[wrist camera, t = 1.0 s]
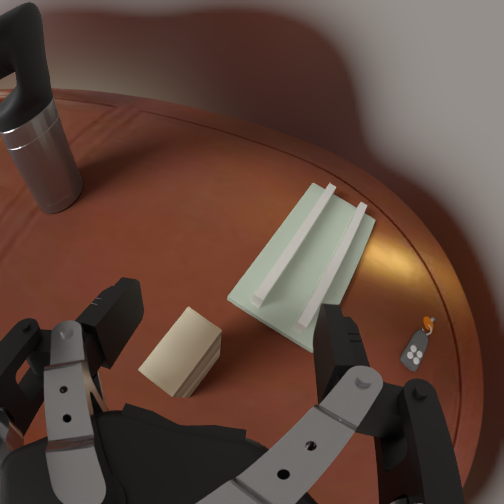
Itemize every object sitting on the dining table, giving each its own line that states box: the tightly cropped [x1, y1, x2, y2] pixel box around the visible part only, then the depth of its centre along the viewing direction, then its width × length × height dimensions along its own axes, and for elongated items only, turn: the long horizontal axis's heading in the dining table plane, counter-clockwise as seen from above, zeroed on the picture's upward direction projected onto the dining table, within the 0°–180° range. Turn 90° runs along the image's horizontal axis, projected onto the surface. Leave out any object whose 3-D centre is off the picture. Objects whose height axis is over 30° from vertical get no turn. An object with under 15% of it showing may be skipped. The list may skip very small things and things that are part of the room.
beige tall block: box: [138, 307, 222, 398], centre depth 23 cm, size 3×6×12 cm, turn 147°
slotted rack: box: [227, 183, 375, 353], centre depth 36 cm, size 24×12×4 cm, turn 147°
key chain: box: [400, 316, 435, 372], centre depth 33 cm, size 13×4×2 cm, turn 137°
